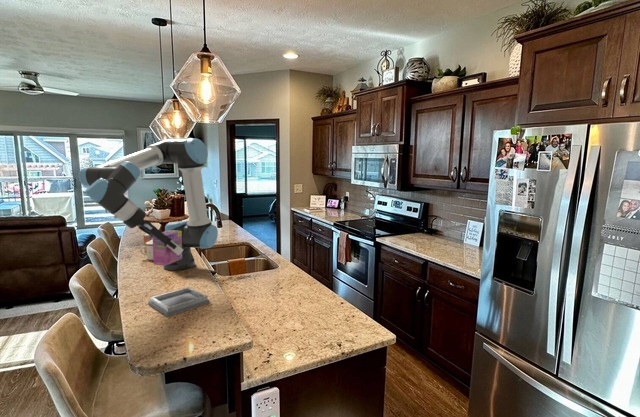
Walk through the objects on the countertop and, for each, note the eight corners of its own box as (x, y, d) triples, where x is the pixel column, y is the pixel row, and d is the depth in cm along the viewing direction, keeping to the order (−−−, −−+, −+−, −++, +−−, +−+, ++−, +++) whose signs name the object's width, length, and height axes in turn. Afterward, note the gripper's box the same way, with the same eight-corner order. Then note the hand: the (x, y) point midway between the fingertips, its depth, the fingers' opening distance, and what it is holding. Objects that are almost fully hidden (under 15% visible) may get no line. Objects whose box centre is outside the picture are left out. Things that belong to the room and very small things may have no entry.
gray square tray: (189, 292, 140) (189, 289, 140) (209, 303, 129) (209, 300, 129) (148, 304, 128) (148, 301, 128) (167, 316, 117) (166, 313, 117)
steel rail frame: (188, 290, 139) (188, 287, 139) (207, 300, 129) (207, 296, 129) (150, 301, 128) (149, 297, 128) (167, 312, 118) (167, 308, 118)
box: (166, 265, 130) (165, 235, 128) (153, 264, 131) (151, 234, 130) (183, 259, 140) (182, 230, 138) (170, 258, 141) (169, 229, 140)
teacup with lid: (164, 255, 199) (163, 235, 198) (164, 259, 191) (163, 238, 190) (141, 257, 194) (139, 237, 193) (140, 261, 186) (139, 240, 185)
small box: (144, 252, 207) (143, 235, 206) (150, 249, 213) (149, 233, 211) (156, 252, 206) (155, 235, 205) (161, 250, 211) (160, 233, 210)
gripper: (115, 218, 132) (160, 252, 144) (130, 225, 115) (179, 263, 127) (129, 204, 135) (172, 238, 147) (146, 209, 118) (193, 247, 130)
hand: (175, 250), depth 137 cm, fingers closed on box, 10 cm apart
